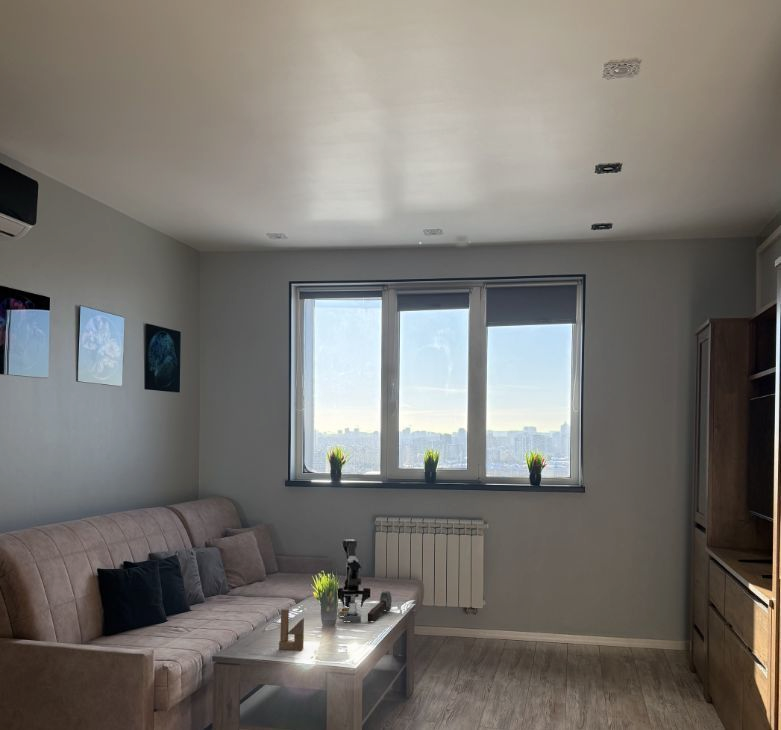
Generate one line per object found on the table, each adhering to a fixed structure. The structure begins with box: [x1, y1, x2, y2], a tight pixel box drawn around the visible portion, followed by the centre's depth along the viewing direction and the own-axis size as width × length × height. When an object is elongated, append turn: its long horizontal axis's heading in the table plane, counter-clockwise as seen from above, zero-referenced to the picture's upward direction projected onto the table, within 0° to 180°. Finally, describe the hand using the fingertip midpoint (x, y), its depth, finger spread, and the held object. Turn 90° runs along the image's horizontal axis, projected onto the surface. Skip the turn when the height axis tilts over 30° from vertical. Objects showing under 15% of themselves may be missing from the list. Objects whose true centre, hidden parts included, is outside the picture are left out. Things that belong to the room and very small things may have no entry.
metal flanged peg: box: [349, 595, 357, 616], centre depth 422 cm, size 4×4×13 cm
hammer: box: [367, 590, 393, 622], centre depth 433 cm, size 5×11×30 cm
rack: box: [339, 608, 349, 617], centre depth 432 cm, size 8×8×3 cm
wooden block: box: [278, 607, 305, 652], centre depth 366 cm, size 4×11×18 cm, turn 80°
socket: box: [343, 612, 362, 623], centre depth 422 cm, size 9×9×3 cm
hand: (352, 606), depth 422 cm, fingers open, 9 cm apart
